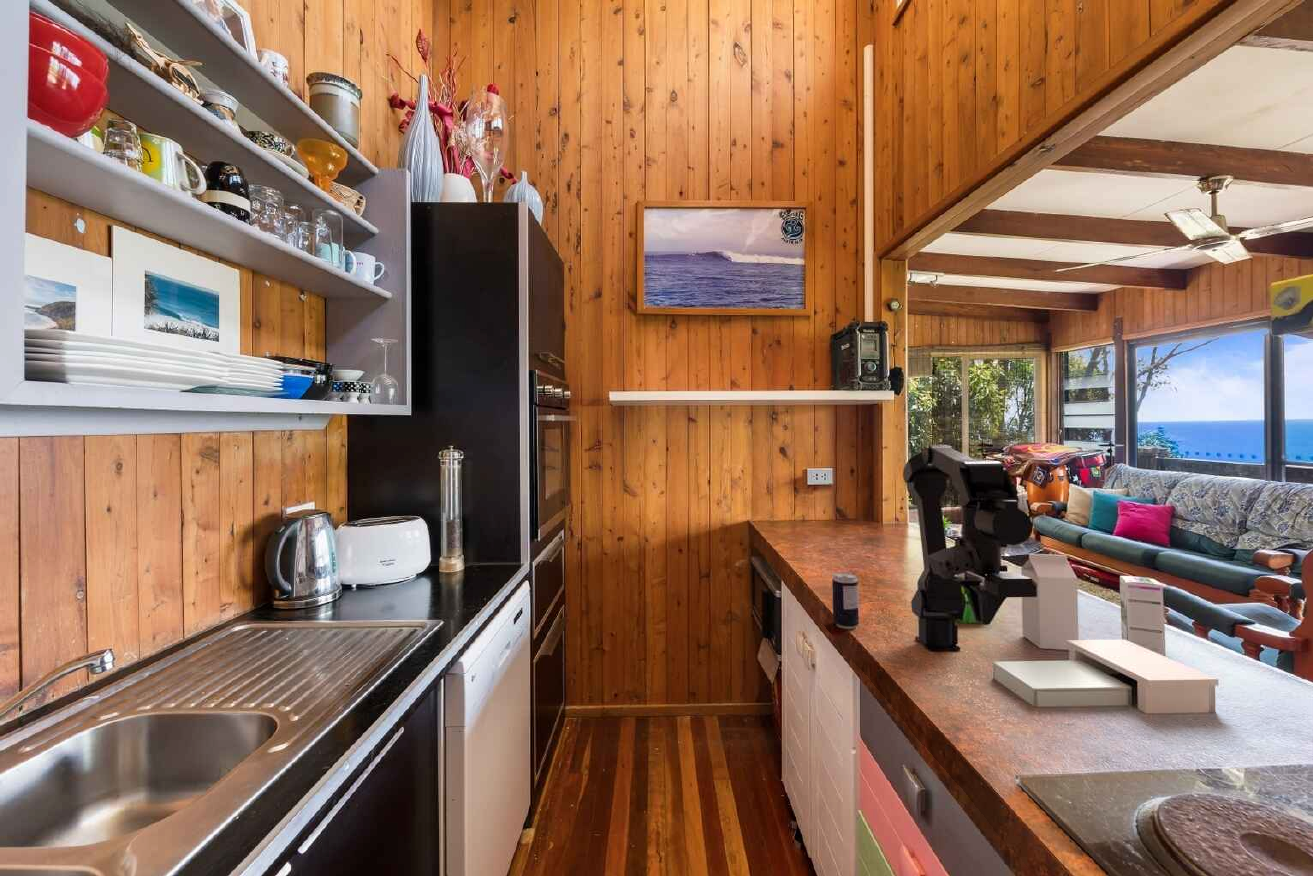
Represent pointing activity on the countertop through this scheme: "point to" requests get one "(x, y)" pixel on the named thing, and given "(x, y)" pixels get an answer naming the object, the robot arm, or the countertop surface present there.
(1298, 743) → the countertop surface
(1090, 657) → the overhang
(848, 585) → the beverage can
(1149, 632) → the syrup box
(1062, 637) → the milk carton
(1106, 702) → the cream rectangular slab
